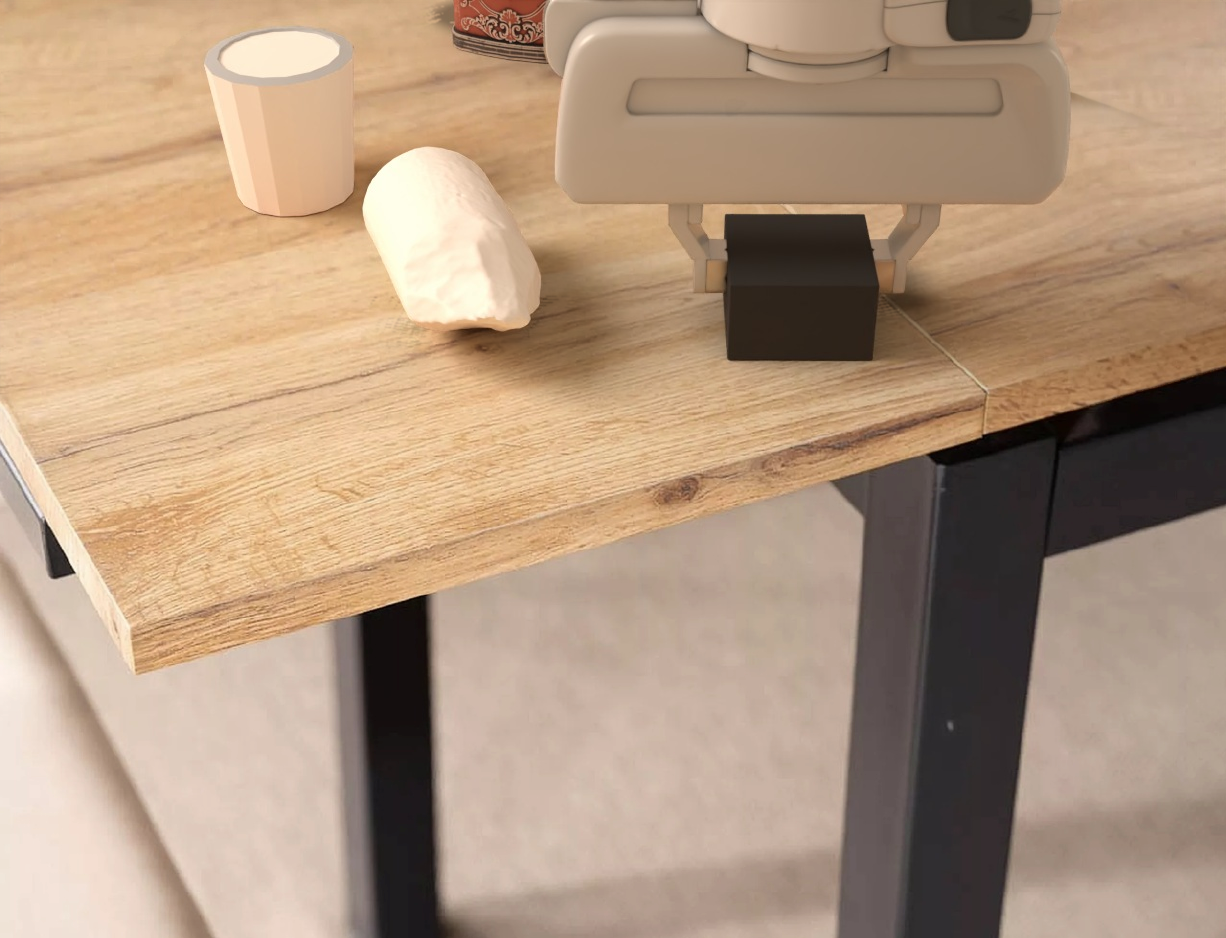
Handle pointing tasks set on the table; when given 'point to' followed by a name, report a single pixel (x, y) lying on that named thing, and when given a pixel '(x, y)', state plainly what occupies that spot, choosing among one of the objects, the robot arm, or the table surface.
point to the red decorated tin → (500, 28)
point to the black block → (799, 287)
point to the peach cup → (286, 117)
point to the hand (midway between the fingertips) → (798, 286)
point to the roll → (450, 243)
